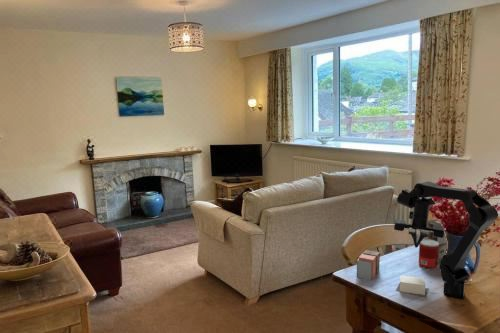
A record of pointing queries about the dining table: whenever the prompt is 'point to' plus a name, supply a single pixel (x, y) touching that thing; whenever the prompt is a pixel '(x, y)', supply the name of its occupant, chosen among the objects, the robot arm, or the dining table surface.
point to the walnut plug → (377, 254)
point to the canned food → (428, 254)
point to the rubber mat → (413, 293)
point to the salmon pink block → (369, 259)
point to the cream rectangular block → (412, 285)
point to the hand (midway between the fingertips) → (416, 247)
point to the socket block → (363, 269)
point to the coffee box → (437, 238)
